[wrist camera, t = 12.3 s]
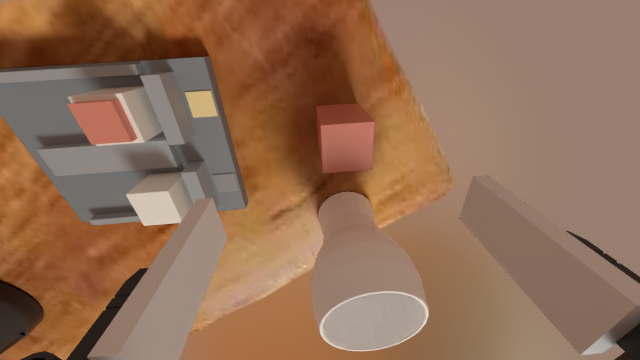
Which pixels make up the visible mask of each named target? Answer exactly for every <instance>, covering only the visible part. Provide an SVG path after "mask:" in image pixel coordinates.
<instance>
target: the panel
mask: <svg viewBox="0 0 640 360" xmlns="http://www.w3.org/2000/svg"><path fill="white" fill-rule="evenodd" d="M134 86H144V87H145V89H146V92H147V94H148V96H149V99H150V101H151V103H152V106H153V108H154V111H155V113H156V115H157V118H158V120H159V123H160V125H161V127H162V130H163V131H162V132H161V133H159V134H158V135H156V136H154V137H153V138H151V139H149V140H148V141H146V142H144V143H130V144H117V145H103V146H96V144H95V145H91V143H90V142H89V140H88V138H87V137H86V135H85V133H84V132H83V130H82V128H81V127H80V125H79V123H78V122H77V120H76V118H75V117H74V115H73V114H72V112H71V110H70V109H69V107H68V105H67V104H70V103H71V102H70V100H69V99H68V97H69V96H74V95H78V94H83V93H87V92H92V91H96V90H101V89H105V88H119V87H134ZM0 115H1V116H2V117H3V119H4V120H5V121H6V123H7V124H8V125H9V127H10V128H11V129H12V130H13V132H14V133H15V134H16V136H17V137H18V138H19V140H20V141H21V142H22V143H23V145H24V146H25V147H26V149H27V150H28V151H29V153H30V154H31V155H32V156H33V158H34V159H35V160H36V162H37V163H38V164H39V166H40V167H41V168H42V170H43V171H44V172H45V173H46V175H47V176H48V177H49V179H50V180H51V181H52V183H53V184H54V185H55V186H56V188H57V189H58V190H59V192H60V193H61V194H62V196H63V197H64V198H65V199H66V201H67V202H68V203H69V205H70V206H71V207H72V209H73V210H74V211H75V213H76V214H77V215H78V216H79V218H80V219H81V220H82V222H83V223H84V222H90V223H91V224H92V225H103V224H114V223H126V222H138V221H141V220H140V218H139V216H138V215H137V213H136V211H135V210H134V208H133V206H132V205H131V203H130V201H129V199H128V198H127V196H126V194H127V193H128V192H129V191H130V190H131V189H133V188H134V187H135V186H136V185H137V184H138V183H140V182H141V181H142V180H143V179H144V178H146V177H147V176H148V175H149V174H159V173H172V172H181V175H182V178H183V180H184V182H185V185H186V187H187V189H188V192H189V194H190V197H191V199H192V201H193V204H194V202H195V201H196V200H197V199H204V198H213V201H214V203H215V206H216V209H217V211H225V210H237V209H246V206H247V203H248V200H247V196H246V192H245V188H244V185H243V181H242V177H241V173H240V169H239V166H238V162H237V158H236V154H235V150H234V147H233V143H232V139H231V135H230V132H229V128H228V124H227V120H226V116H225V113H224V109H223V105H222V101H221V97H220V94H219V90H218V86H217V82H216V79H215V75H214V71H213V67H212V63H211V60H210V56H206V57H189V58H173V59H157V60H140V61H124V62H108V63H91V64H75V65H59V66H43V67H26V68H10V69H0Z"/></svg>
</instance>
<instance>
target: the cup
mask: <svg viewBox="0 0 640 360" xmlns="http://www.w3.org/2000/svg"><path fill="white" fill-rule="evenodd" d="M318 219H319V223H320V227H321V229H322V232H323V235H324V240H323V246H322V247H321V249H320V251H319V253H318V254H317V258H316V262H315V265H314V269H313V273H312V276H311V300H312V307H313V310H314V314H315V318H316V321H317V325H318V328H319V332H320V334H321V336H322V337H323V338H324V340H325V341H326V342H328V343H329V344H330V345H332V346H334V347H337V348H340V349H345V350H351V351H370V350H378V349H382V348H386V347H390V346H393V345H396V344H398V343H401V342H403V341H405V340H407V339H408V338H410V337H412V336H413V335H415V334H416V333H417V332H419V331H420V330H421V328H422V327H423V326H424V325H425V323H426V321H427V318H428V315H429V312H428V306H427V302H426V298H425V294H424V290H423V285H422V281H421V278H420V276H419V274H418V272H417V270H416V268H415V266H414V264H413V262H412V260H411V259H410V257H409V256H408V254H407V253H406V252H405V251H404V250H403V249H402V248H401V247H400V246H399V245H398V244H397V243H396V242H395V241H394V240H393V239H392V238H390V237H389V236H387V235H386V234H384V233H383V232H381V231H380V230H379V229H378V227H377V226H376V224H375V220H374V214H373V210H372V206H371V203H370V202H369V200H368V199H367V198H366V197H364V196H363V195H361V194H358V193H356V192H341V193H338V194H334V195H333V196H331V197H329V198H328V199H327V200H325V201H324V202H323V204H322V205H321V207H320V209H319V213H318Z"/></svg>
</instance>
